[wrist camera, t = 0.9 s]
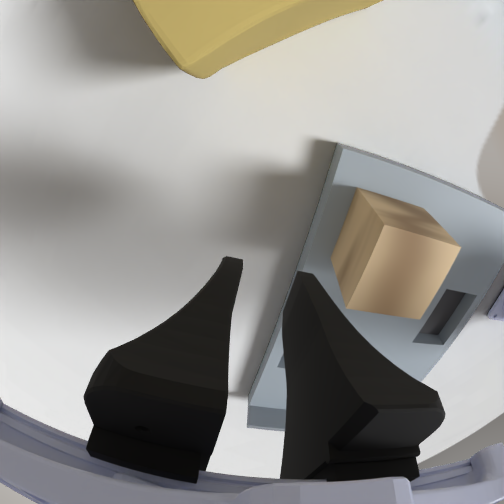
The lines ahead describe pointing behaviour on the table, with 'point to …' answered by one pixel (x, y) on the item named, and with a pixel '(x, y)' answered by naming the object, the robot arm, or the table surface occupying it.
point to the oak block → (391, 256)
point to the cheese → (232, 27)
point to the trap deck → (379, 325)
